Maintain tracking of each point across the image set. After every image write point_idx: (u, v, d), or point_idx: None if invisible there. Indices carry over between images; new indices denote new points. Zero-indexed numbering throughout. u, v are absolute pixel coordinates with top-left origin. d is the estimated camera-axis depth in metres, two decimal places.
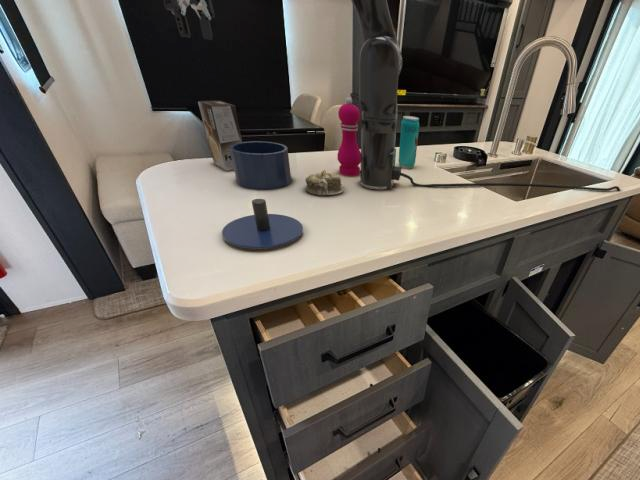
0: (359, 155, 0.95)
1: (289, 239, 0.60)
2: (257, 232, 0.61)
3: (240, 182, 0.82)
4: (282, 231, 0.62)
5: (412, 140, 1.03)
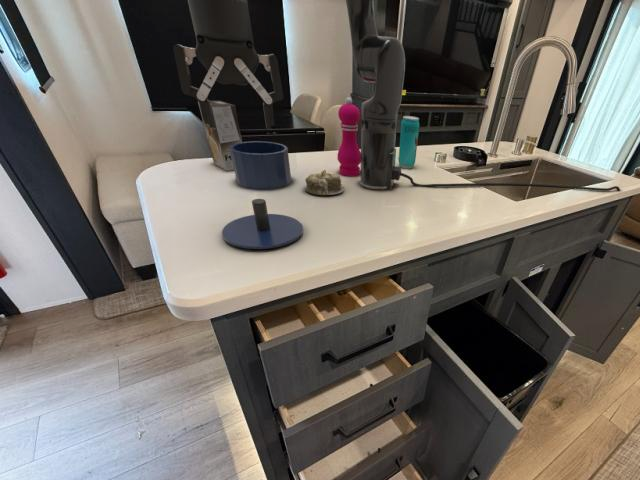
0: (359, 155, 0.95)
1: (289, 239, 0.60)
2: (257, 232, 0.61)
3: (240, 182, 0.82)
4: (282, 231, 0.62)
5: (412, 140, 1.03)
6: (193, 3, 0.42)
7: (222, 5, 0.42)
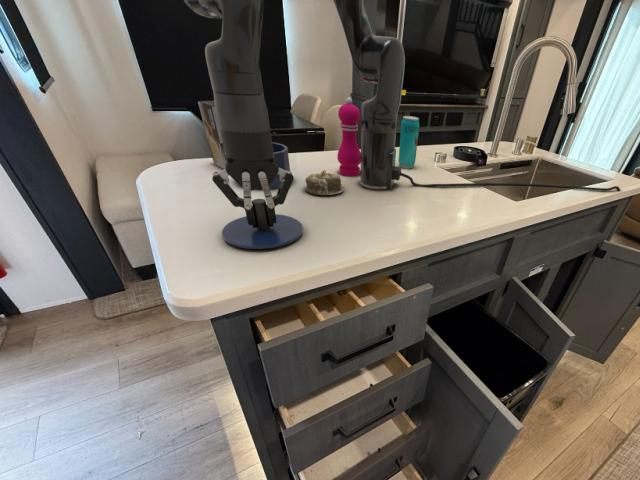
0: (359, 155, 0.95)
1: (289, 239, 0.60)
2: (257, 232, 0.61)
3: None
4: (282, 231, 0.62)
5: (412, 140, 1.03)
6: (226, 136, 0.50)
7: (250, 138, 0.50)
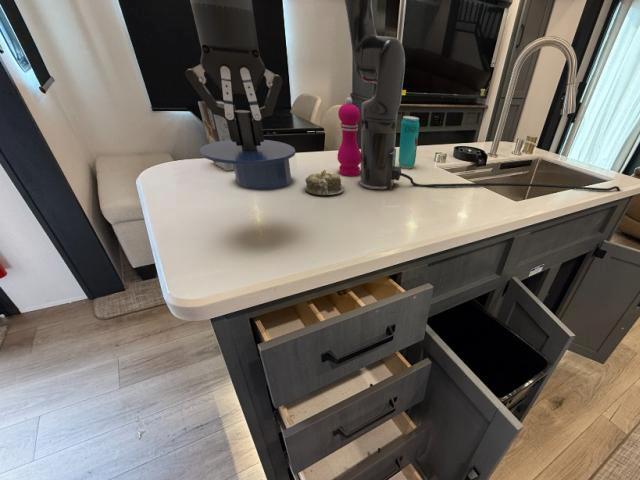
0: (359, 155, 0.95)
1: (279, 157, 0.51)
2: (241, 151, 0.52)
3: (240, 182, 0.82)
4: (271, 151, 0.54)
5: (412, 140, 1.03)
6: (198, 13, 0.41)
7: (228, 15, 0.41)
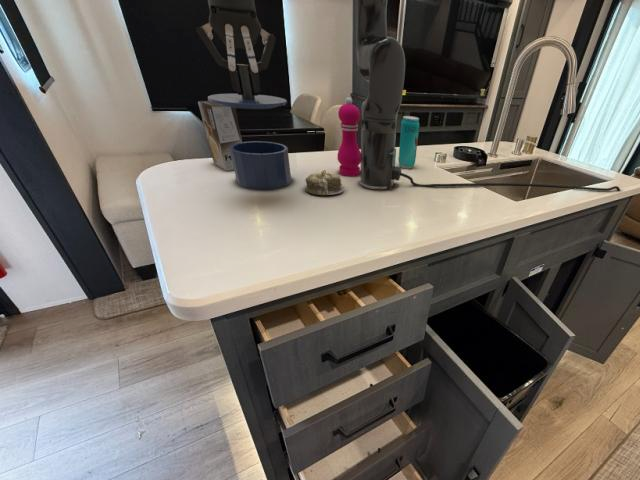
0: (359, 155, 0.95)
1: (273, 103, 0.62)
2: (242, 99, 0.63)
3: (240, 182, 0.82)
4: (266, 100, 0.64)
5: (412, 140, 1.03)
6: None
7: None
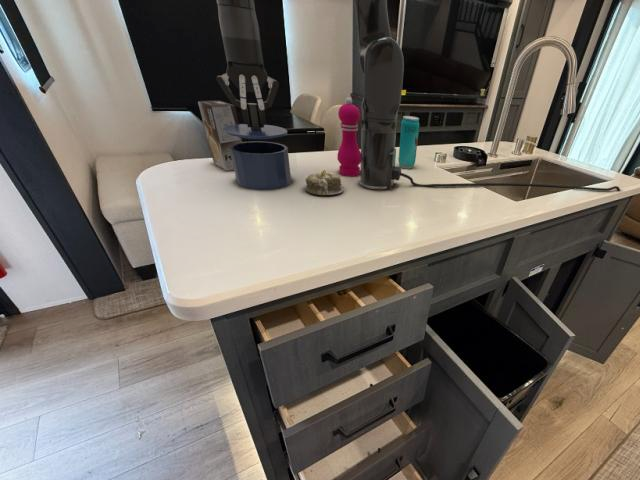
0: (359, 155, 0.95)
1: (276, 134, 0.77)
2: (251, 130, 0.78)
3: (240, 182, 0.82)
4: (270, 131, 0.79)
5: (412, 140, 1.03)
6: (227, 42, 0.67)
7: (245, 43, 0.67)
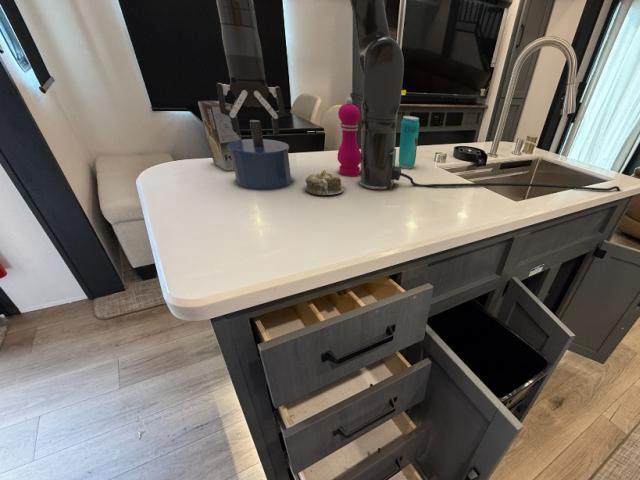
0: (359, 155, 0.95)
1: (278, 150, 0.79)
2: (254, 146, 0.80)
3: (240, 182, 0.82)
4: (273, 147, 0.81)
5: (412, 140, 1.03)
6: (230, 59, 0.68)
7: (247, 60, 0.69)
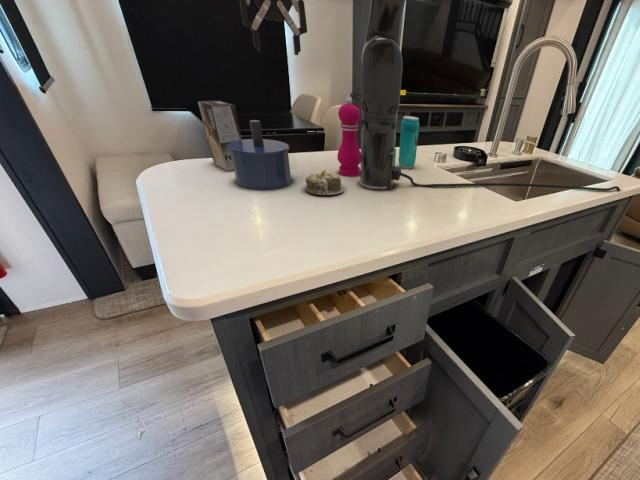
0: (359, 155, 0.95)
1: (278, 150, 0.79)
2: (254, 146, 0.80)
3: (240, 182, 0.82)
4: (273, 147, 0.81)
5: (412, 140, 1.03)
6: None
7: None
